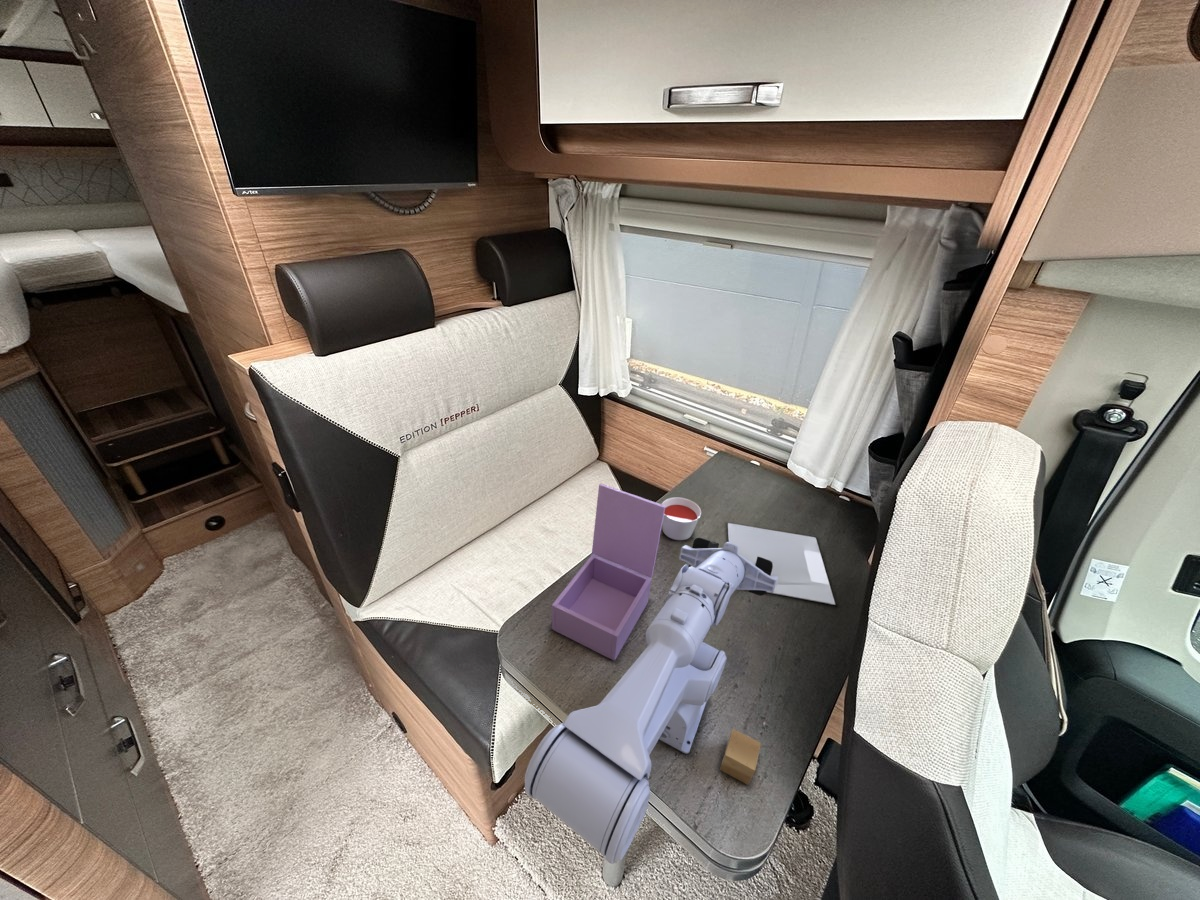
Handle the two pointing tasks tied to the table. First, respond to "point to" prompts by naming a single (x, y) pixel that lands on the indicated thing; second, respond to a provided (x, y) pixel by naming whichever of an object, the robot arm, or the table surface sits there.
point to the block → (740, 757)
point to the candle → (680, 518)
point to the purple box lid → (627, 529)
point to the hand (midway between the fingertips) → (738, 555)
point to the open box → (601, 605)
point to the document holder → (786, 561)
